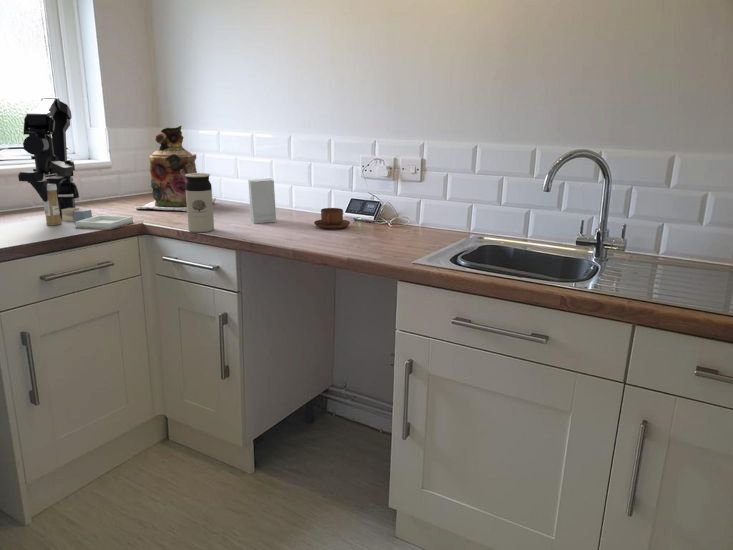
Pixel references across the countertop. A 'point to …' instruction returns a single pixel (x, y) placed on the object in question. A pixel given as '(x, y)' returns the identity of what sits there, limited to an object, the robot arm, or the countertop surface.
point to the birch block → (68, 214)
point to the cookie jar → (170, 171)
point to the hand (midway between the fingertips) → (50, 200)
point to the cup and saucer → (331, 219)
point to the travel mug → (199, 202)
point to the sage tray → (104, 222)
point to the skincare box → (262, 200)
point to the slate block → (82, 214)
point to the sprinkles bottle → (52, 206)
